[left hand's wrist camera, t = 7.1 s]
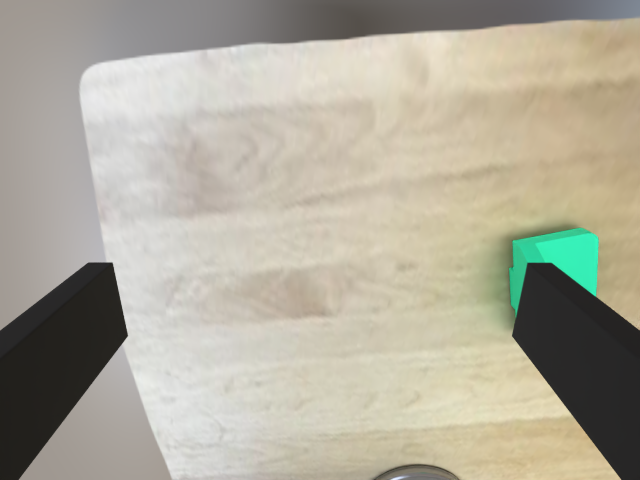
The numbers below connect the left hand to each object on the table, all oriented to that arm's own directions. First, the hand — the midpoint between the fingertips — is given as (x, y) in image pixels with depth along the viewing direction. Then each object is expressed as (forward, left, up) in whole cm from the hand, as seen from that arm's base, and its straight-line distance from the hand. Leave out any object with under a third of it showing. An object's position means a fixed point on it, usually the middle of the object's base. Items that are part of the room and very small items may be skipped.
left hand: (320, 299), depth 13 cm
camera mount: (-14, -25, -28) cm, 40 cm away
